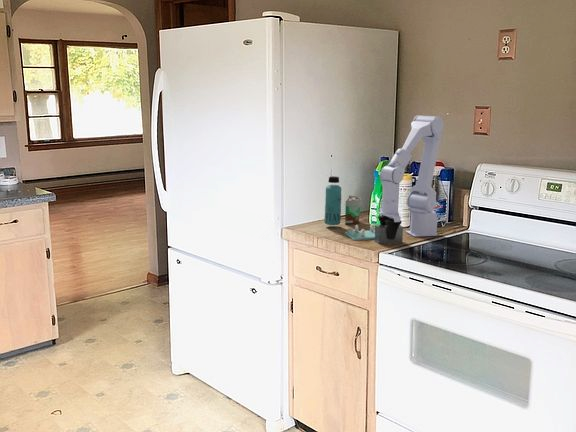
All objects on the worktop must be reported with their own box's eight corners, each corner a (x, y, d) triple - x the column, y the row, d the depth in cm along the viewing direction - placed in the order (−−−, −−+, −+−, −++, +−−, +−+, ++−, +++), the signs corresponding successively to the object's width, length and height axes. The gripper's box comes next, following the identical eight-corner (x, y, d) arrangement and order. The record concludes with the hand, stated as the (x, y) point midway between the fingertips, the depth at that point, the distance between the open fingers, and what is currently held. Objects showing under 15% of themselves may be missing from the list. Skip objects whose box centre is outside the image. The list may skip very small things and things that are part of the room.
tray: (379, 231, 234) (380, 223, 233) (390, 238, 224) (390, 229, 223) (344, 233, 230) (345, 224, 230) (353, 240, 221) (354, 231, 220)
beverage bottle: (322, 228, 238) (324, 177, 234) (325, 224, 244) (326, 175, 240) (339, 229, 237) (341, 178, 232) (341, 225, 243) (343, 175, 239)
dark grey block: (397, 240, 222) (398, 224, 221) (402, 243, 218) (403, 226, 217) (374, 241, 220) (375, 225, 219) (378, 244, 216) (379, 227, 215)
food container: (360, 226, 242) (361, 201, 240) (344, 225, 243) (345, 200, 241) (362, 219, 254) (363, 195, 252) (348, 218, 255) (348, 195, 253)
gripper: (372, 196, 222) (370, 232, 225) (387, 204, 208) (385, 243, 211) (390, 195, 223) (388, 232, 226) (406, 203, 210) (404, 242, 213)
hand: (388, 237), depth 219 cm, fingers open, 5 cm apart
